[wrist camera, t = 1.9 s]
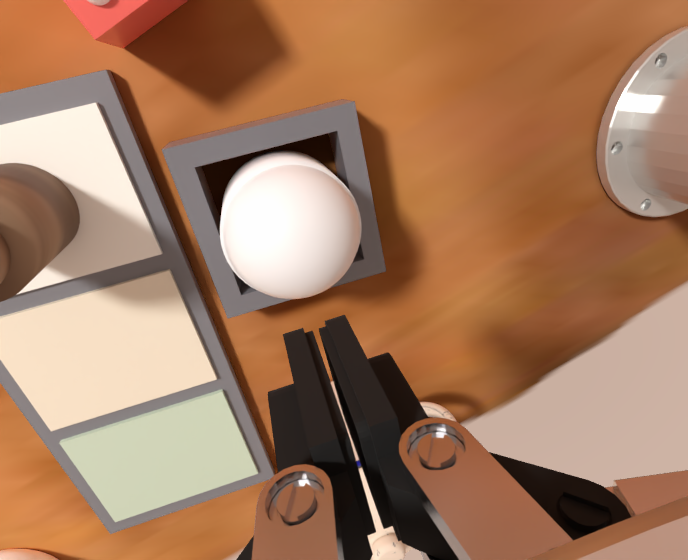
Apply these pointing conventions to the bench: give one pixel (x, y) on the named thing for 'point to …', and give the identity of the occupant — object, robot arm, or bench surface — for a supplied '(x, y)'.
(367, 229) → the dome housing
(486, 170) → the bench surface
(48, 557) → the cup
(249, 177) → the dome
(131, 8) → the red die
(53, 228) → the pawn
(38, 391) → the game board
